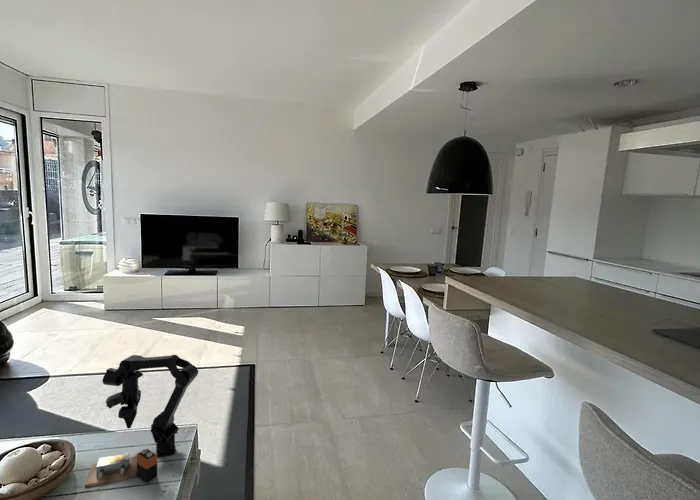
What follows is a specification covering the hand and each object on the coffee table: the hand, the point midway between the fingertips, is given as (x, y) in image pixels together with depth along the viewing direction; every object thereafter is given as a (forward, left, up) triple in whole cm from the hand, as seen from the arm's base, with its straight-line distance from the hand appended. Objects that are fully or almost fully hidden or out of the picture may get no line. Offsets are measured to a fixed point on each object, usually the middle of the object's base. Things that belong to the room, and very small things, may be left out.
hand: (130, 422), depth 160 cm
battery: (-8, +22, -11) cm, 26 cm away
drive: (+4, +15, -10) cm, 18 cm away
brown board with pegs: (+4, +15, -11) cm, 19 cm away
